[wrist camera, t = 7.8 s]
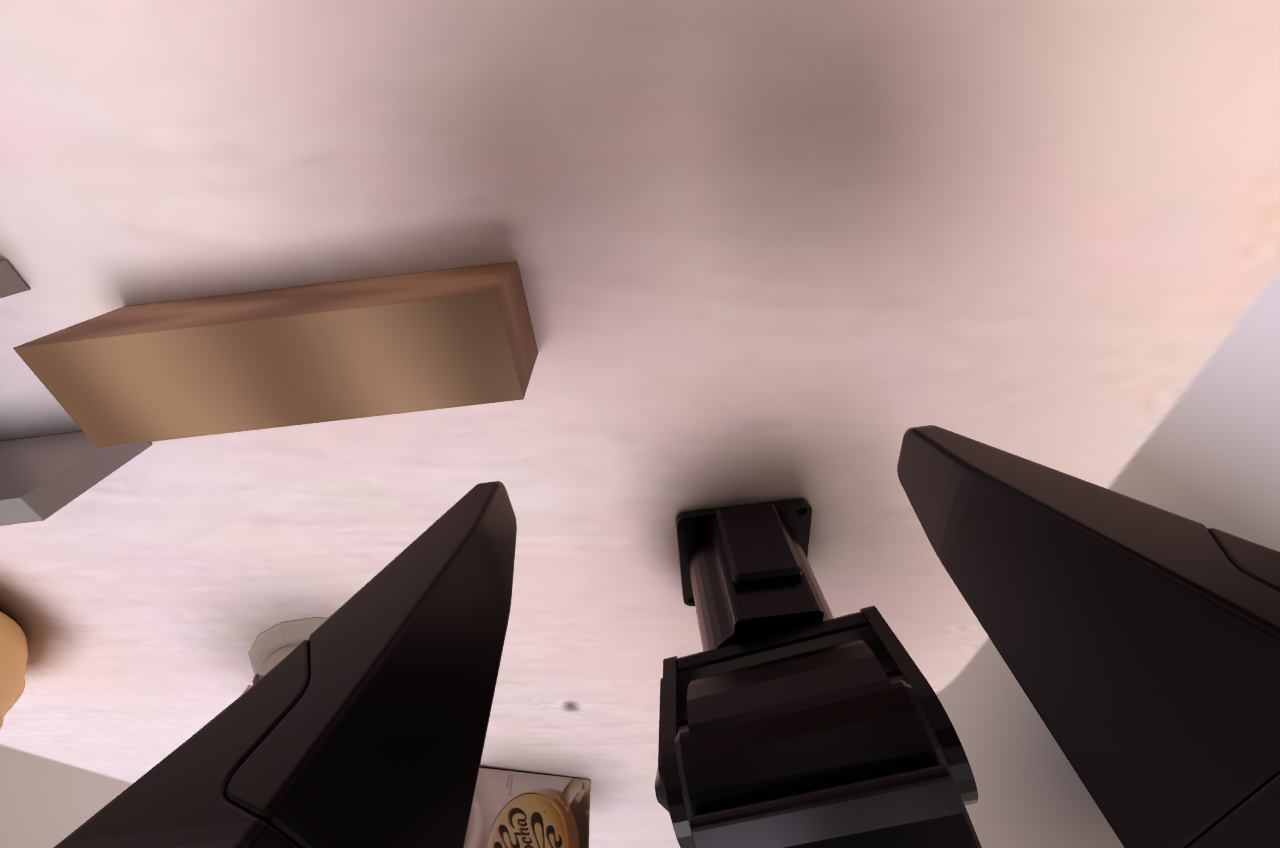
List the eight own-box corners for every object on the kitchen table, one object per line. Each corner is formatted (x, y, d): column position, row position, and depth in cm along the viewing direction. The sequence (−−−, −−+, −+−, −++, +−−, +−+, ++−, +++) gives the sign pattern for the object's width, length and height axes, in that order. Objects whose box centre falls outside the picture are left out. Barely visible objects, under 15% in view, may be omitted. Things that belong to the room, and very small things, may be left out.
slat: (188, 390, 19) (97, 447, 16) (130, 304, 17) (12, 348, 14) (538, 350, 19) (523, 399, 16) (518, 259, 17) (495, 292, 14)
